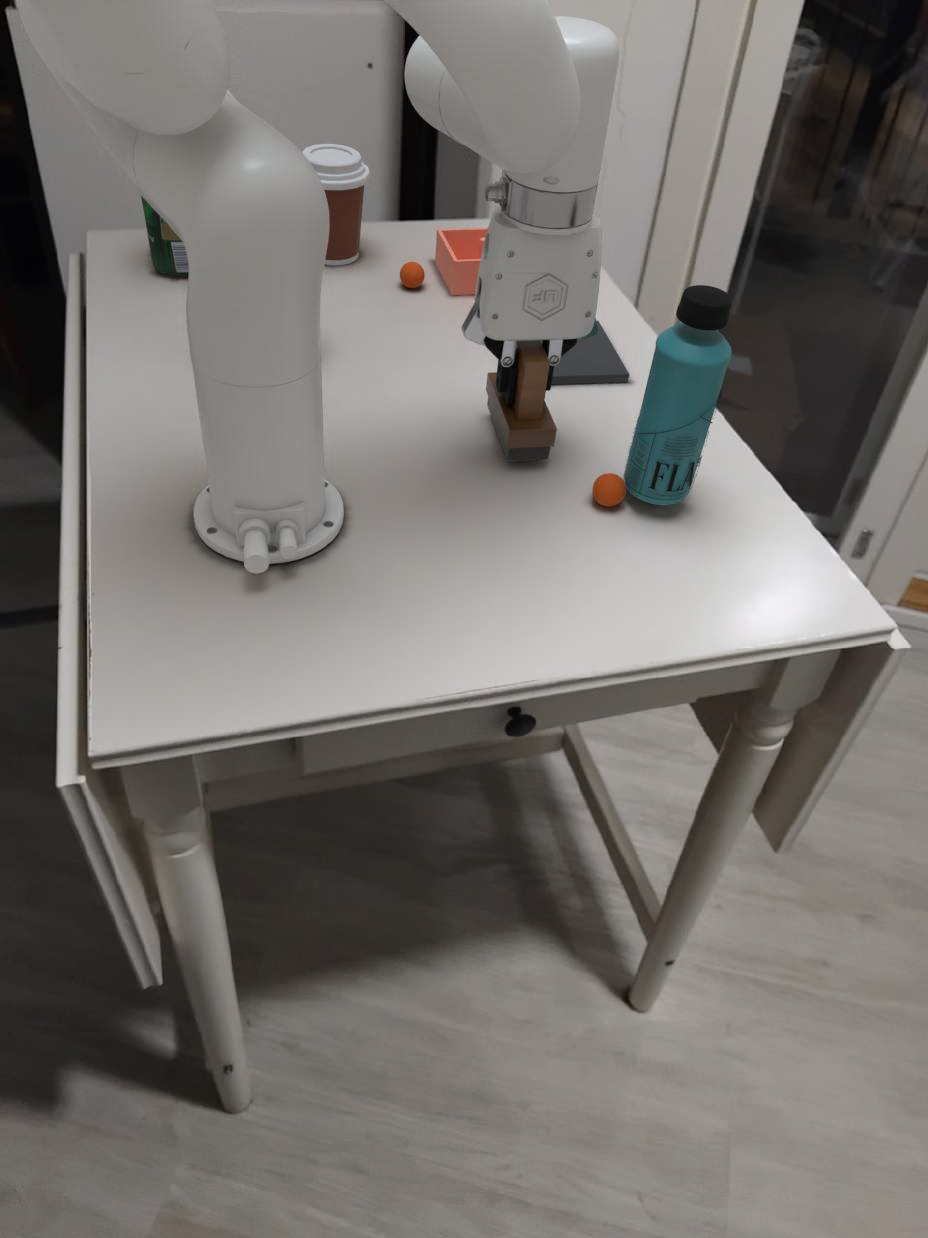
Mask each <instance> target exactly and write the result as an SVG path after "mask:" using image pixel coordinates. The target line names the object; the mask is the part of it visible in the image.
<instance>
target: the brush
mask: <svg viewBox="0 0 928 1238" xmlns="http://www.w3.org/2000/svg"><path fill="white" fill-rule="evenodd" d="M515 357H516V364H517V366H518V378H517V385H516V393H515V401H514V403H513V404H512V405H506V403H505V400H504V398H503V395H502V392H498V391H497V389H496V375H497V371H493V372H487V375H486V385H485V391H486V394H487V401H486V404H487V408H488V411H489V415H490V416H491V419H492V422H493V424H494V428H495V430H496V434H497V436H498V438H499V442H500V444H501V447H502V449H503V452H504V455H505V458H506V460H507V462H522V461H542V460H544V461H545V460H549V459H550V453H551V447H554V446H555V442H556V436H557V431H558V428H557V425H556V424H555V423H556V422H555V421H554V418H553V416H552V413H551V412H550V410H549V407H548V405H547V403H546V401H545V400H546V394H545V391H546V385H547V379H548V372H549V366H550V361H549V359H548V356H547V354H546V352H545V350H544V348H543V346H542V344H541V342H540V340H529V341H517V347H516V353H515ZM546 392H547V391H546ZM544 398H545V400H544Z"/></svg>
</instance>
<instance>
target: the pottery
mask: <svg viewBox="0 0 928 1238" xmlns="http://www.w3.org/2000/svg"><path fill="white" fill-rule="evenodd" d="M487 230H488V227H472V228H471V227H469V228H463V227H462V228H437V229H436V238H435V241H436V242H435V254H434V255H435V256H434V263H435V265H436V267H437V269H438V271H439V273H440V275H441V277H442V279H443V281H444V283H445V284H446V286H447V289H448V290H449V293H450V294H451V296H467V295H469V296H470V295H471V296H472V295H475V293H476V285H477V278H478V272H479V266H480V261H481V255H482V251H483V246H484V242H485V238H486V234H487Z"/></svg>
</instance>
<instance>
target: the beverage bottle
mask: <svg viewBox="0 0 928 1238" xmlns="http://www.w3.org/2000/svg"><path fill="white" fill-rule="evenodd" d="M732 301H733V300H732V297H731V295H730V294H729V293H727V292H726V291H725V290H723V289H721V288H718V287H715V286H711V285H705V284H696V285H690V286H687V287H686V288H685V289H684V290H683V292H682V294H681V299H680V301H679V304H678V306H677V309H676V313H675V316H676V318H677V320H678V321H679V323H676V324H674V325H672V326H670V327H668V328H666V329H665V330H663V331H662V332H660V333H659V334H658V336H657V337H656V339H655V347H654V351H653V356H652V360H651V365H650V369H649V373H648V376H647V381H646V385H645V389H644V393H643V397H642V402H641V406H640V408H639V409H640V410H639V413H638V416H637V417H636V421H635V423H636V424H635V426H634V428H633V430H634V431H633V436H632V437H631V439H632V441H631V443H630V444H629V446H630V447H629V448H628V452H627V453H628V456H627V457H626V464H624V467H625V468H624V473H623V481H624V483H625V486H626V490H628V493H630V494H631V495H633V496H634V497H635V498H636V499H639V500H641V501H643V502H645V503H648V504H652V505H657V506H669V505H675V504H678V503H680V502H682V501H683V500H684V499H686V497H687V496H688V495H689V494H690V493H691V491H692V489H693V485H694V484H695V482H696V481H695V480H696V478H697V475H698V472H699V468H700V466H701V462H702V458H703V455H702V453H704V451H705V450H704V448H706V445H707V444H706V440H707V439H708V438H709V435H710V430H709V429H710V426H711V424H713V421H712V420H714V418H715V416H716V414H715V411H716V410H717V408H718V405H719V403H720V399H721V396H722V392H723V391H722V388H723V383H724V384H725V382H724V380H725V379H726V377H727V376H726V372H727V368H728V366H729V363H730V361H731V359H732V355H733V353H732V351H733V350H732V347H731V345H730V343H729V342H728V340H727V339H726V338H725V336H724V335H723V333H721V332H720V331H719V330H722V329H724V328H726V327H727V325H728V322H729V319H730V312H731V307H732Z"/></svg>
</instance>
